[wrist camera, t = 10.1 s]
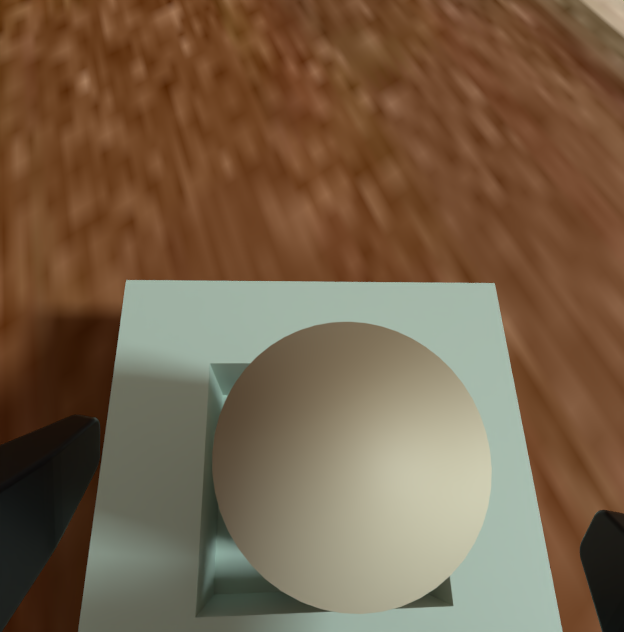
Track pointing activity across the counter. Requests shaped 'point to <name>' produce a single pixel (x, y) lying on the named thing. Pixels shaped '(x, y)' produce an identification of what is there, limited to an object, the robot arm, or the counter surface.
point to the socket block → (197, 479)
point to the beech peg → (351, 467)
